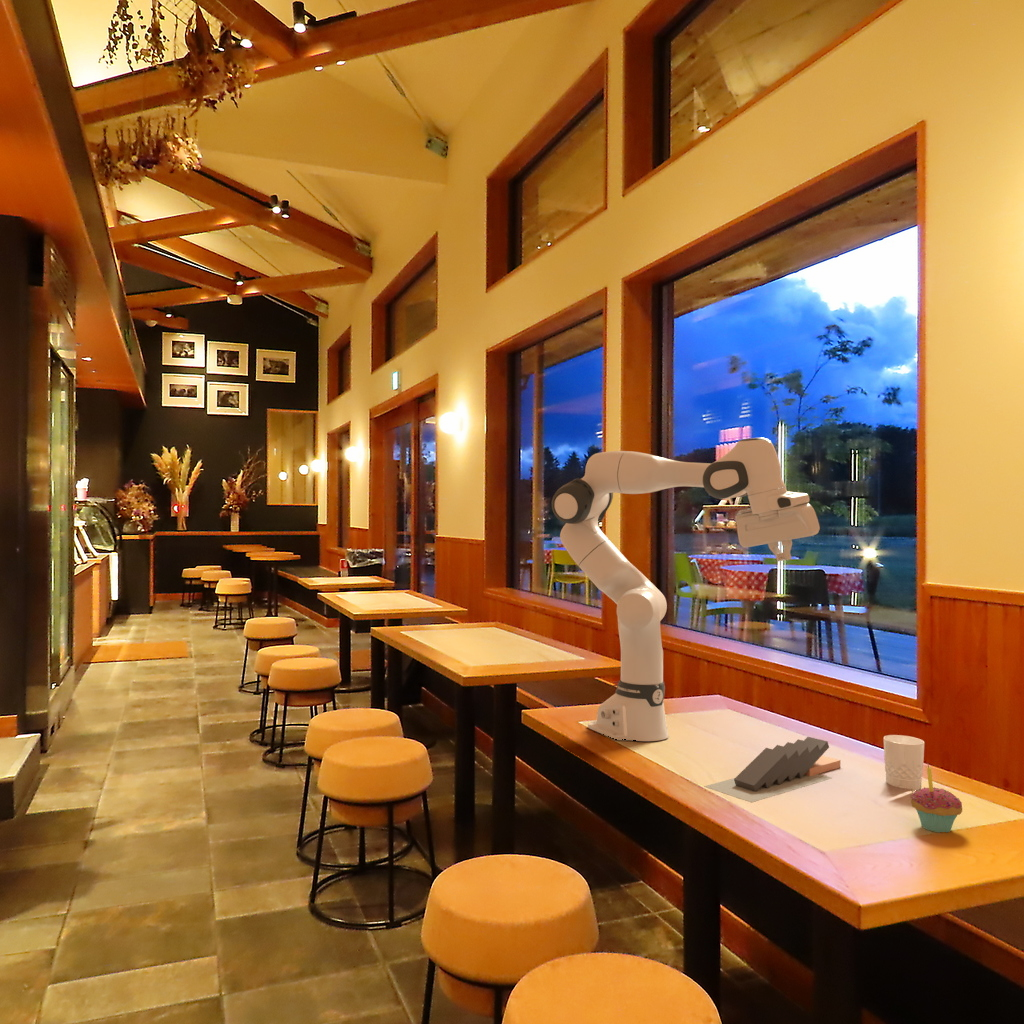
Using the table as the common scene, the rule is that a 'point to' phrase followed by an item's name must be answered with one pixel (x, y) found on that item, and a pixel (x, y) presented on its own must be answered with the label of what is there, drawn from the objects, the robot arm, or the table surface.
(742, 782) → the domino
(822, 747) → the domino
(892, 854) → the table surface
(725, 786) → the felt strip
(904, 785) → the white cup
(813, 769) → the domino
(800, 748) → the domino
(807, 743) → the domino
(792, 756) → the domino
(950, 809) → the cupcake
